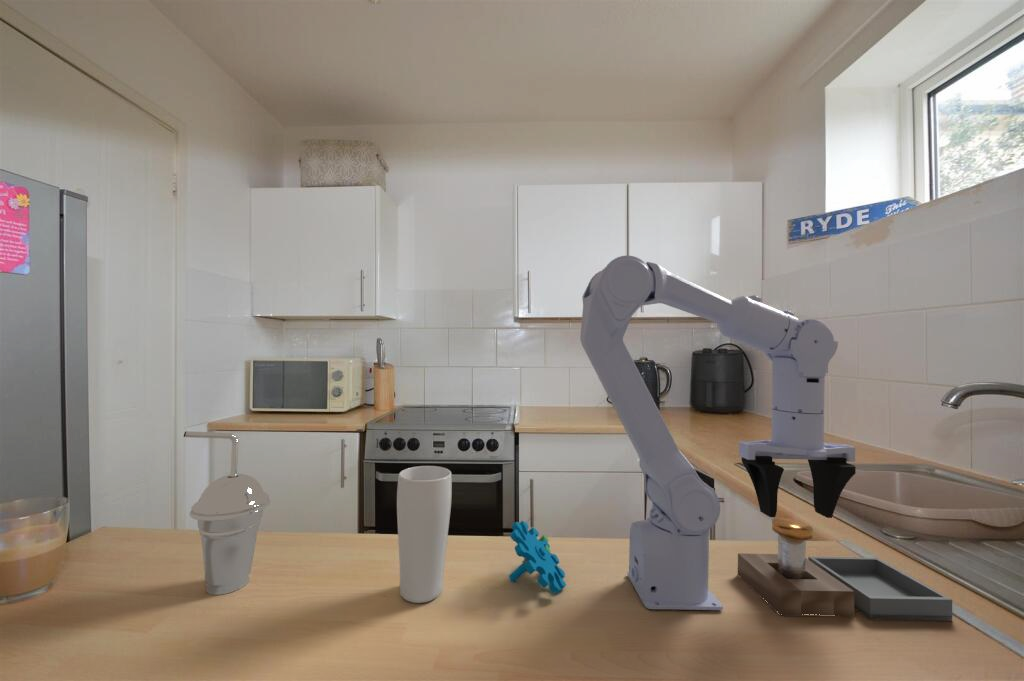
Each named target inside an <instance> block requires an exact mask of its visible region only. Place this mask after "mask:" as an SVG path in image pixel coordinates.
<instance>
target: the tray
mask: <svg viewBox="0 0 1024 681" xmlns="http://www.w3.org/2000/svg"><path fill="white" fill-rule="evenodd" d="M807 557H808V558H807V559H808V560H809V561H811V562H812V563H814V564H815V565H816V566H818V567H819V568H821V569H822V570H824V571H825V572H827V573H828V574H830V575H831V576H833V577H834V578H835V579H837V580H838V581H840V582H841V583H843V584H844V585H846V586H847V587H849V588H850V589H852V590H853V591H854V610H856V611H857V612H859V613H860V614H862V615H863V616H864V617H866V618H867V619H869V620H873V621H876V620H878V621H924V622H925V621H937V622H952V621H953V599H952V598H950V597H948V596H947V595H945V594H943V593H941V592H939V591H937V590H936V589H934V588H932V587H930V586H928V585H927V584H925V583H923V582H921V581H919V580H918V579H916V578H914V577H912V576H911V575H909V574H907V573H906V572H903V571H902V570H899V569H898V568H896V567H894V566H892V565H891V564H889V563H887V562H885V561H884V560H881V559H879V558H878V557H857V556H856V557H853V556H851V557H849V556H846V557H844V556H842V557H841V556H807Z"/></svg>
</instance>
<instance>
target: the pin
mask: <svg viewBox="0 0 1024 681" xmlns="http://www.w3.org/2000/svg"><path fill="white" fill-rule="evenodd" d="M771 529H772V531H773V532H775V533H776V534H778V535H777V554H778V572H779V573H780V574H781V575H782V576H784V577H785V578H786V579H805V571H806V559H807V557H806V551H807V550H806V549H807V546H806V545H807V541H808V540H812V539H813V532H814V531H813V530H814V529H813V527H812V526H810V524H807V523H805V522H802V521H799V520H797V519H796V520H795V519H792V518H788V517H787V518H785V517H774V518H772V519H771Z"/></svg>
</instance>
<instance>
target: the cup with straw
mask: <svg viewBox="0 0 1024 681" xmlns="http://www.w3.org/2000/svg"><path fill="white" fill-rule="evenodd" d="M183 438H199V439H229V440H230V441H231V457H230V474H227V475H224V476H221V477H218V478H217V479H215V480H213V482H211V483H209V485H208V486H206V487H205V489H204V490H203V492H202V493H201V495H200V497H199V499H198V501H196V502H195V503H194V504H193V505H192V506H191V509H190V512H189V516H190V518H191V519H193V520H197V528H198V531H199V532H198V533H199V536H201V547H202V548H201V550H202V561H203V571H204V573H203V574H204V581H205V584H206V588H205V591H206V593H207V594H208V595H209V594H210V595H214V596H219V595H220V596H221V595H226V594H230V593H233V592H237V591H239V590H240V589H243V588H244V587H245V586H247V585H248V583H249V582H250V574H251V572H252V566H253V560H254V554H255V548H256V541H257V536H258V530H259V529H258V528H259V527H260V526H259V525H260V524H261V520H262V518H263V512H264V511H263V510H264V509H266V508H268V506H270V504H271V500H270V495H269V494H268V493H267V492H266V491H265V492H264V489H263V488H262V486H261V483H260V482H259V481H258V480H257V479H256V478H254V477H252V476H250V475H248V474H244V473H238V459H239V458H238V456H239V438H238V436H237V435H236V434H234V433H231V432H212V431H211V432H209V431H188V430H186V431H185V432H184V433H183Z"/></svg>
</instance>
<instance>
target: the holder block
mask: <svg viewBox="0 0 1024 681" xmlns="http://www.w3.org/2000/svg"><path fill="white" fill-rule="evenodd" d="M738 575H739V576H740V577H741V578H742V579H741V578H740V577H739V576H738ZM737 576H738V577H739V578H740V579H741V580H742V581H743V582H744V583H746V585H747V586H749V587H750V589H752V588H753V589H754V590H755V591H756V592H757V593H758V594H759V595H760V596H761V597H762V598H764V600H763V601H765V600H766V601H767V602H768V603H767V602H766V601H765V602H766V603H767V604H768V605H769V604H770V605H771V606H772V607H773V608H774V609H775V610H776V611H778V613H779V614H780V615H781V614H782V615H802V614H803V615H804V614H809V615H810V614H814V615H815V614H817V615H819V614H820V615H835V616H834V617H837V616H847V618H848V617H849V616H850V617H849V618H851V617H852V618H853V617H855V608H854V591H853V590H852V589H850V588H849V587H847V586H846V585H844V584H843V583H841V582H840V581H838V580H837V579H835V578H834V577H833V576H831V575H830V574H828V573H827V572H825V571H824V570H822V569H821V568H819V567H818V566H816V565H815V564H814V563H812V562H811V561H809V560H808V558H806V571H805V579H786V578H785V577H784V576H782V575H781V574H780V573H779V572H778V553H737ZM753 589H752V590H753ZM754 590H753V591H754ZM755 591H754V592H755ZM756 592H755V593H756ZM757 593H756V594H757ZM758 594H757V595H758ZM759 595H758V596H759ZM760 596H759V597H760ZM761 597H760V598H761ZM762 598H761V599H762ZM770 605H769V606H770ZM771 606H770V607H771ZM772 607H771V608H772ZM773 608H772V609H773ZM774 609H773V610H774ZM775 610H774V611H775ZM776 611H775V612H776ZM778 613H777V614H778ZM779 614H778V615H779ZM780 615H779V616H780Z"/></svg>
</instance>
